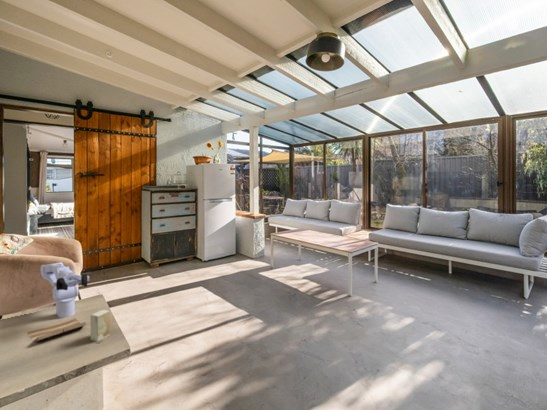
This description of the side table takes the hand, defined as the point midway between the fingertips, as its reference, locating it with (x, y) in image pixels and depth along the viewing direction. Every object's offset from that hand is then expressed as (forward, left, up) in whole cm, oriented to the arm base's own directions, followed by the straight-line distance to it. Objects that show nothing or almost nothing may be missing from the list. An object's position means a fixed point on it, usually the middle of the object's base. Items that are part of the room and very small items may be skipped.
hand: (76, 286), depth 131 cm
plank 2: (+2, -2, -19) cm, 19 cm away
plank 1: (+2, -11, -19) cm, 22 cm away
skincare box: (+16, +4, -21) cm, 27 cm away
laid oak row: (-7, -7, -21) cm, 23 cm away
